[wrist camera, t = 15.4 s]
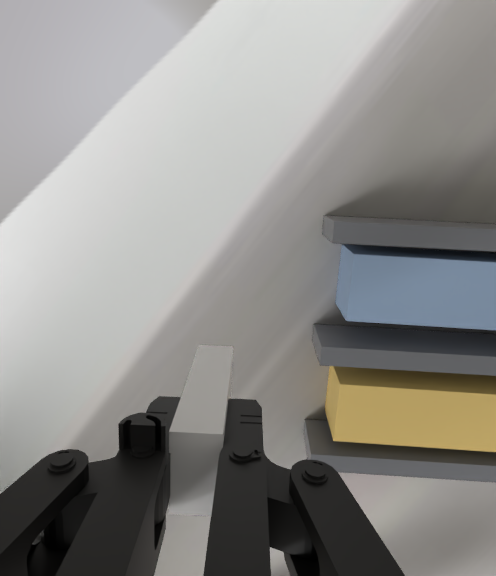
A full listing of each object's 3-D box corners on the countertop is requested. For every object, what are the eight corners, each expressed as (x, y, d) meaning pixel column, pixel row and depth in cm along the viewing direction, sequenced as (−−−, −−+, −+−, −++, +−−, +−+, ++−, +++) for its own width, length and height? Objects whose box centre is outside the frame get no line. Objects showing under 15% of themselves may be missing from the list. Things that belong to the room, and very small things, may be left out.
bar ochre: (324, 407, 30) (333, 440, 26) (330, 357, 29) (340, 384, 25) (489, 418, 30) (523, 454, 26) (500, 368, 29) (537, 397, 25)
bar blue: (334, 301, 28) (346, 321, 24) (341, 243, 27) (354, 254, 23) (511, 312, 28) (552, 333, 24) (525, 254, 27) (569, 266, 23)
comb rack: (303, 433, 30) (311, 481, 25) (323, 215, 26) (337, 223, 21) (530, 447, 30) (581, 498, 25) (586, 228, 26) (661, 239, 21)
